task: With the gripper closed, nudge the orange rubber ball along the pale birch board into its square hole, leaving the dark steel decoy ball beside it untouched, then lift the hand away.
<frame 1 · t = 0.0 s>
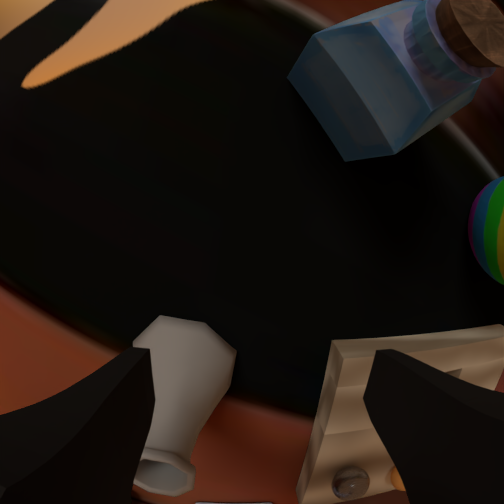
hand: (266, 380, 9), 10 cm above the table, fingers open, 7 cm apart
decorative egg: (487, 223, 20), on the table
flask: (182, 361, 20), on the table
ball: (407, 475, 20), point 4 cm above the table, touching board
board: (404, 418, 23), on the table
perfume bottle: (353, 97, 17), on the table
decoy ball: (350, 483, 19), point 4 cm above the table, touching board
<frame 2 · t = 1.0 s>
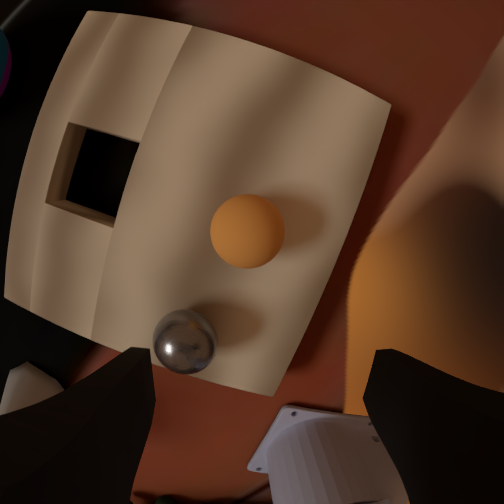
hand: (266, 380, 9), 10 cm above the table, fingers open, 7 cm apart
flask: (43, 397, 20), on the table
ball: (247, 231, 14), point 4 cm above the table, touching board
board: (175, 196, 17), on the table
decoy ball: (185, 341, 14), point 4 cm above the table, touching board
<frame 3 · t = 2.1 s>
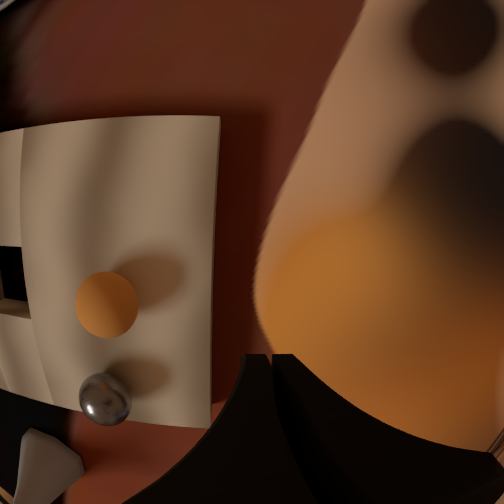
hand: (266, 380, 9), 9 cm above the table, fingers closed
flask: (54, 452, 21), on the table
ball: (106, 304, 14), point 4 cm above the table, touching board
board: (73, 275, 17), on the table
decoy ball: (105, 399, 15), point 4 cm above the table, touching board
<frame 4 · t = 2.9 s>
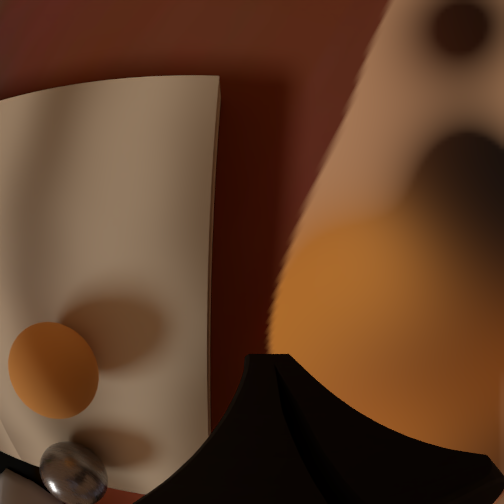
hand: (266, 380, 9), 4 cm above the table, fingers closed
flask: (35, 493, 15), on the table
ball: (52, 370, 8), point 4 cm above the table, touching board
board: (25, 310, 12), on the table
decoy ball: (73, 474, 9), point 4 cm above the table, touching board
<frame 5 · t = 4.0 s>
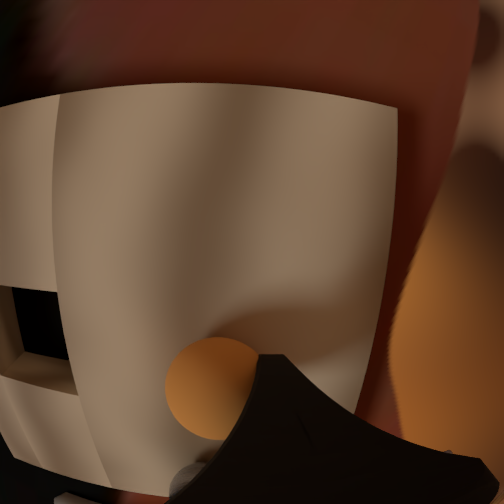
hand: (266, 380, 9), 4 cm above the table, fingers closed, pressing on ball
ball: (218, 389, 9), point 4 cm above the table, tilted 18°, touching board, gripper
board: (137, 327, 12), on the table
decoy ball: (207, 495, 10), point 4 cm above the table, touching board
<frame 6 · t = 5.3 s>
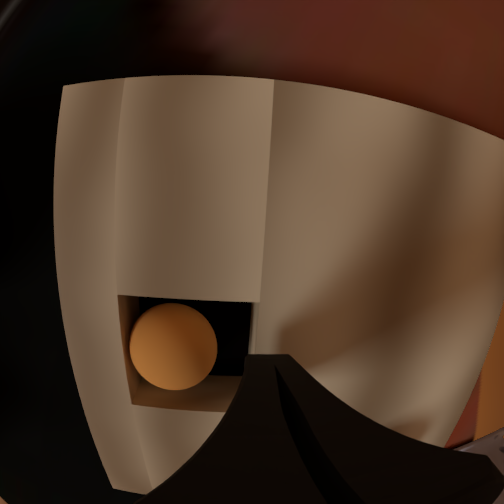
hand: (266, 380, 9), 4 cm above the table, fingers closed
ball: (173, 346, 11), point 2 cm above the table, tilted 54°
board: (303, 331, 13), on the table
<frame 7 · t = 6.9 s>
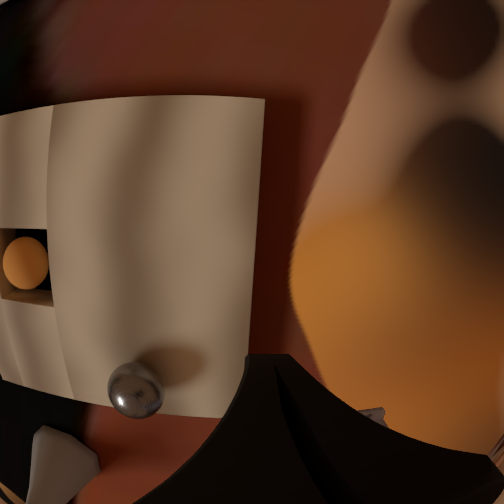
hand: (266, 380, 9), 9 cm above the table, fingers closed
flask: (67, 450, 21), on the table
ball: (25, 263, 15), point 2 cm above the table, tilted 42°
board: (99, 260, 17), on the table
decoy ball: (135, 390, 15), point 4 cm above the table, touching board
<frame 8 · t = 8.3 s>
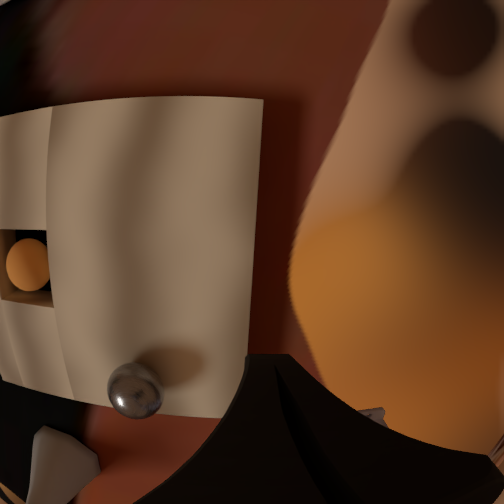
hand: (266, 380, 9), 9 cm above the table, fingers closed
flask: (68, 451, 21), on the table
ball: (29, 264, 15), point 2 cm above the table, tilted 30°
board: (99, 261, 17), on the table
decoy ball: (135, 390, 15), point 4 cm above the table, touching board
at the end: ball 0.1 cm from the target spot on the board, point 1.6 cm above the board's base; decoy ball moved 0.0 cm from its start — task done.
